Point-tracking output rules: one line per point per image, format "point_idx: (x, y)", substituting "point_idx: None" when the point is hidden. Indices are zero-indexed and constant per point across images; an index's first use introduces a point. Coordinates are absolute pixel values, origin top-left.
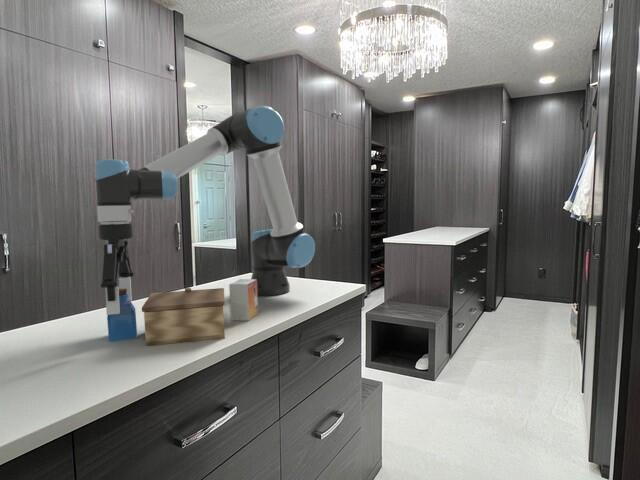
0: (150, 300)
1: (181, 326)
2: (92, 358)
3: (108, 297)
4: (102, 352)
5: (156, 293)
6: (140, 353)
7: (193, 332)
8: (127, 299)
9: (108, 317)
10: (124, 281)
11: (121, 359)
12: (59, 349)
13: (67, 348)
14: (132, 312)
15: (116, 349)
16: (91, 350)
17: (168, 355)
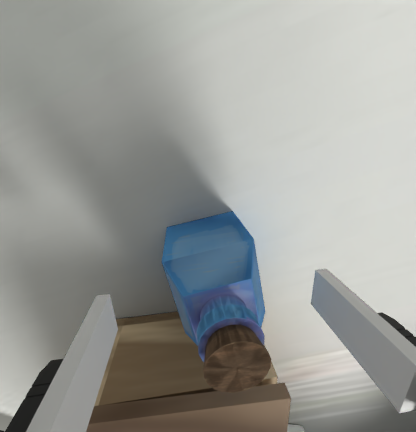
0: (173, 423)
1: None
2: (32, 231)
3: (36, 385)
4: (78, 239)
5: (279, 413)
6: (62, 322)
7: None
8: (318, 299)
9: (163, 264)
10: (386, 366)
11: (22, 297)
12: (122, 105)
13: (128, 128)
14: (185, 330)
15: (98, 264)
16: (99, 206)
17: None
